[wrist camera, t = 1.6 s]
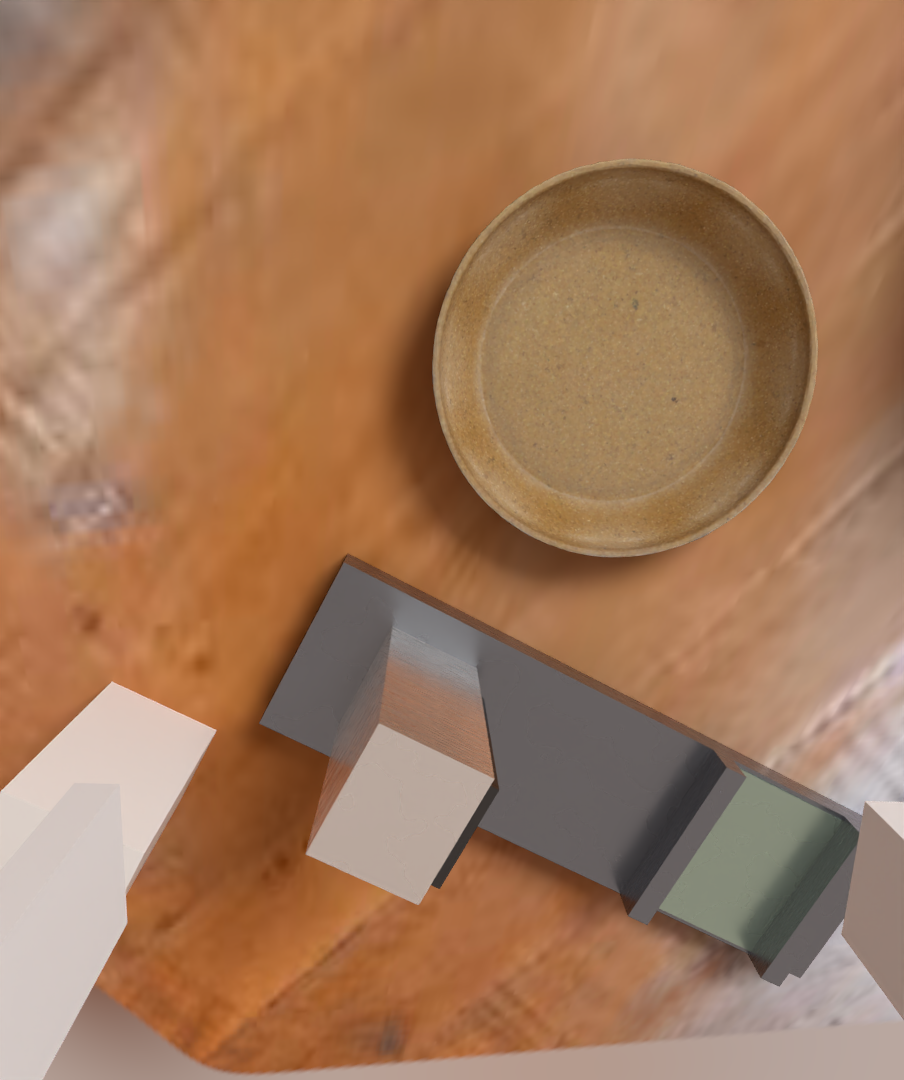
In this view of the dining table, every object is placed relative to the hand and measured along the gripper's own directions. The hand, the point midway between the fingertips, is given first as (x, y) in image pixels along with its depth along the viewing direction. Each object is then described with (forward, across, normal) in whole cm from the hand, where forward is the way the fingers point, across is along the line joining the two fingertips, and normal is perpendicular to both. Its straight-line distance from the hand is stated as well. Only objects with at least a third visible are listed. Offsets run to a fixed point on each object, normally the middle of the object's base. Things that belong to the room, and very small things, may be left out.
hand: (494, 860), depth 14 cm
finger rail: (+20, +6, -9) cm, 23 cm away
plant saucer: (+21, +6, +9) cm, 23 cm away
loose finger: (+20, -14, -8) cm, 26 cm away
